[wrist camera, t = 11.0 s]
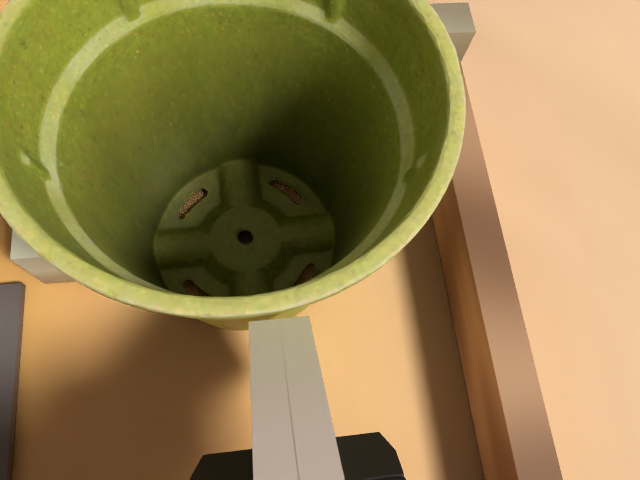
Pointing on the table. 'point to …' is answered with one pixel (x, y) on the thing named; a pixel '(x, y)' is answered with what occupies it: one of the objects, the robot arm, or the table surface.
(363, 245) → the plant pot
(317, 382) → the robot arm
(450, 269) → the grey and wooden pieces
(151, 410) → the table surface
